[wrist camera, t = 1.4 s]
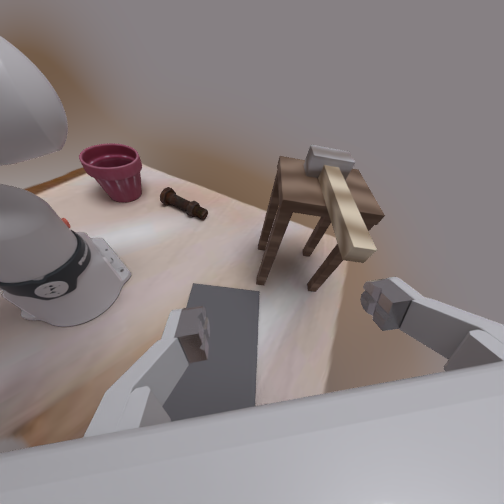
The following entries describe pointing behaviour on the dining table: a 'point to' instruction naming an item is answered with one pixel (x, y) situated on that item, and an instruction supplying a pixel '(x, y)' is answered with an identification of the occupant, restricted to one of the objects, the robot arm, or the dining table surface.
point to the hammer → (340, 201)
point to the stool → (311, 203)
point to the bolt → (182, 203)
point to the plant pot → (114, 170)
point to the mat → (220, 356)
